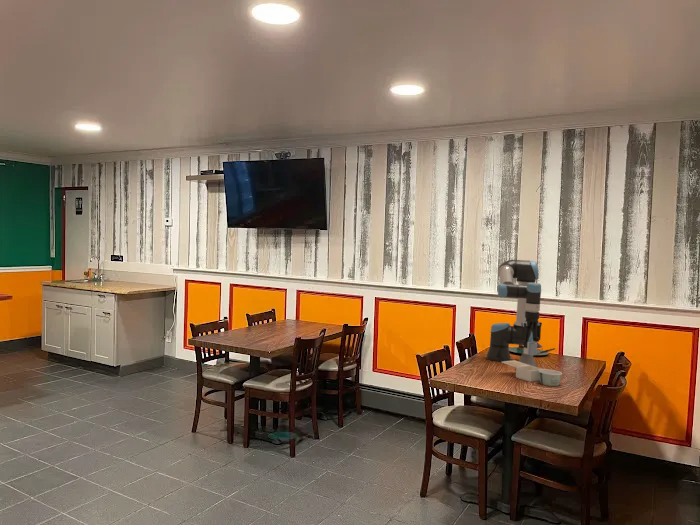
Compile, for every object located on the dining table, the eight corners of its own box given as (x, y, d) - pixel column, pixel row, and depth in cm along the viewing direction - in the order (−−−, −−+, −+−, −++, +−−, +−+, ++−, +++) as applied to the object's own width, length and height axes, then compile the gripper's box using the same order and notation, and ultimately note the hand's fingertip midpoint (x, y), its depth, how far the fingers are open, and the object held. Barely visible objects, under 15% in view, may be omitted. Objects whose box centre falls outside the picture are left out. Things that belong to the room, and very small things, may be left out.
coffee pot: (516, 371, 319) (517, 346, 318) (516, 367, 330) (517, 343, 329) (555, 376, 312) (556, 350, 312) (554, 372, 323) (555, 346, 323)
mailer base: (515, 377, 303) (516, 366, 303) (529, 375, 309) (529, 365, 309) (530, 381, 295) (530, 370, 295) (543, 380, 301) (544, 369, 301)
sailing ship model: (542, 359, 361) (543, 342, 361) (500, 352, 377) (501, 336, 376) (552, 353, 385) (553, 337, 384) (512, 347, 400) (513, 332, 400)
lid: (516, 366, 303) (516, 367, 303) (529, 364, 309) (529, 366, 309) (501, 361, 312) (501, 362, 312) (514, 359, 318) (514, 361, 318)
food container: (549, 387, 285) (549, 374, 285) (532, 381, 296) (533, 369, 296) (566, 386, 290) (567, 373, 290) (549, 380, 301) (550, 368, 301)
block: (530, 355, 298) (530, 344, 297) (523, 353, 302) (523, 342, 302) (536, 354, 300) (537, 343, 300) (529, 352, 304) (530, 342, 304)
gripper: (525, 312, 293) (523, 355, 293) (549, 311, 301) (546, 353, 302) (515, 310, 299) (512, 352, 300) (538, 310, 308) (536, 351, 309)
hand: (529, 353), depth 301 cm, fingers closed on block, 5 cm apart
